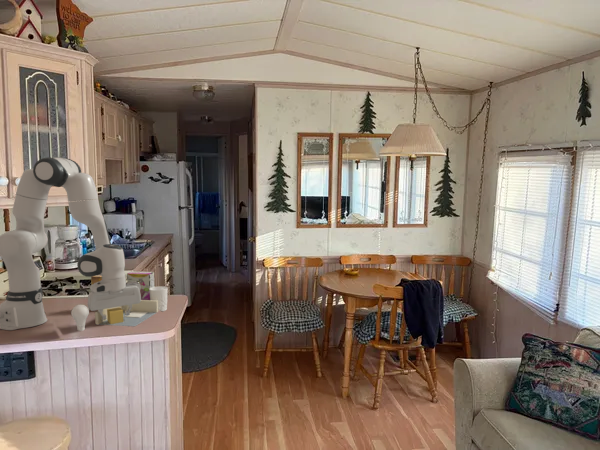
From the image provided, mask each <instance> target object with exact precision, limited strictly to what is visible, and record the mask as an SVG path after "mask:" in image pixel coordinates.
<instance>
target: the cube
mask: <svg viewBox="0 0 600 450" xmlns="http://www.w3.org/2000/svg"><path fill="white" fill-rule="evenodd" d="M107 320H108V322H109V323H110V324H115V323H120V322H124V321H123V310H122V309H121V308H120V307H118V308H112V309H107Z"/></svg>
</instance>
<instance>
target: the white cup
mask: <svg viewBox="0 0 600 450" xmlns="http://www.w3.org/2000/svg"><path fill="white" fill-rule="evenodd" d="M168 290H169V289H168V287H167V286H164V285H162V286H154V287H152V288H150V289H149V292H150V300H154V301H158V311H160V312H161V311H162V312H165V311H167V309H168Z"/></svg>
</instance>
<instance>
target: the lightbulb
mask: <svg viewBox="0 0 600 450" xmlns="http://www.w3.org/2000/svg"><path fill="white" fill-rule="evenodd" d="M70 313H71V317H72V319H73V320H74V321H75V326H76V329H77V332H83V331H85V330H86V329H85V328H86V321H87V319H88V316H89V314H90V310H89V309H88V305H85V304H76V305H74V306H73V307H72V309H71V311H70Z"/></svg>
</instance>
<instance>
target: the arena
mask: <svg viewBox="0 0 600 450" xmlns="http://www.w3.org/2000/svg"><path fill="white" fill-rule="evenodd" d="M119 307H120V308H121V309H122V310H123V321H124V322H120V323H115V324H110V323H109V322H108V320H107V309H112V308H107V309H103V312H102V313H103V315H104V314H105V315H106V320H102V317H101V314H100V313H99V312H98V310H95V311H94V321H95V325H99V326H115V327H116V326H119V327H120V326H121V327H136V326H138V325H140V324H141V323H144V321H146V320H148V319H149V318H150V317H151V318H152V317H153V316H155V314H158V313H159V310H158V301H154V300H141V302H140V303H137V304H132V308H131V310H130V315H128V316H126V315H125V311H127V309H128V306H127V305H125V306H119ZM113 308H118V307H113Z"/></svg>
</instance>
